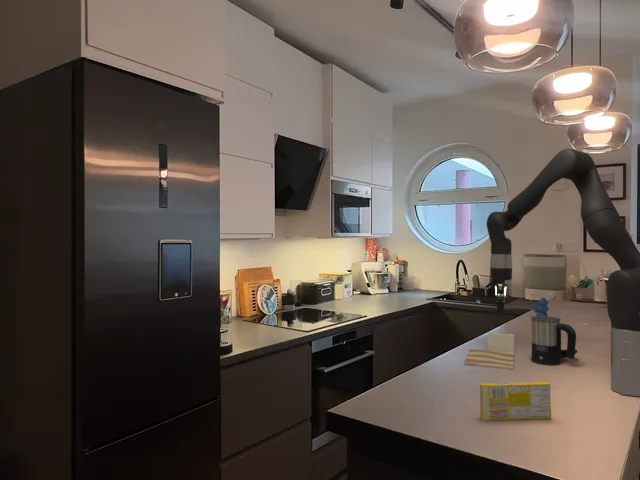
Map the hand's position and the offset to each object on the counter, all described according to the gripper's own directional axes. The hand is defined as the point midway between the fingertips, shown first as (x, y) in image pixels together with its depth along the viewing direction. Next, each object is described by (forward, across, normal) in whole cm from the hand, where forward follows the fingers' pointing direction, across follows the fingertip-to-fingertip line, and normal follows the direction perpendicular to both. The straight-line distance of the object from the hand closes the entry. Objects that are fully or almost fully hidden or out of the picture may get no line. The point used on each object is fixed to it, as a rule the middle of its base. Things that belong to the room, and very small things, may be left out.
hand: (500, 310), depth 171 cm
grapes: (+15, +68, -16) cm, 72 cm away
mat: (+15, -13, +3) cm, 20 cm away
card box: (+15, 0, 0) cm, 15 cm away
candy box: (+15, -65, -5) cm, 67 cm away
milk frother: (+15, -6, -17) cm, 24 cm away
